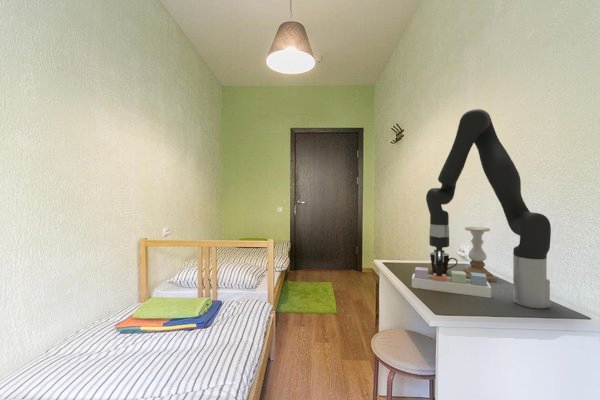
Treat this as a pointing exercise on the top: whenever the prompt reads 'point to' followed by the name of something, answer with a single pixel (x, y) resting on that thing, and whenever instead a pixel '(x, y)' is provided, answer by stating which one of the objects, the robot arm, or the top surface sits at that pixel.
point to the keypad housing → (452, 286)
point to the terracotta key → (439, 277)
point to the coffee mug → (445, 263)
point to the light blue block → (478, 279)
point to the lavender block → (421, 273)
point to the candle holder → (477, 254)
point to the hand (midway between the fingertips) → (439, 275)
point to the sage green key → (458, 277)
